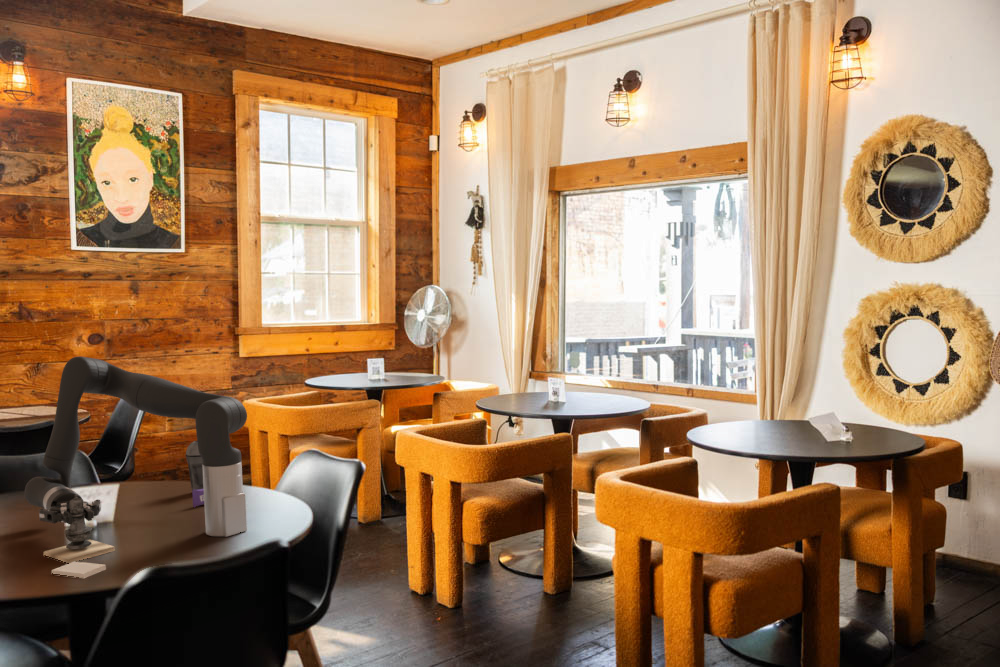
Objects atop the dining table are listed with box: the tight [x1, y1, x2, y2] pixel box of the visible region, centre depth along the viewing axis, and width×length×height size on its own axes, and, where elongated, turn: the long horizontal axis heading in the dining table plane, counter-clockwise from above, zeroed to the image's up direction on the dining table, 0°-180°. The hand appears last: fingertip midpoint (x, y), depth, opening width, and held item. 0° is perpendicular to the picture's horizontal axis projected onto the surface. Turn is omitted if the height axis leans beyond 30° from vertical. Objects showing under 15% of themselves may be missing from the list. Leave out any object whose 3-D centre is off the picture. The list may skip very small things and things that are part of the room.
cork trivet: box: [43, 539, 116, 564], centre depth 201 cm, size 11×11×1 cm
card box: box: [51, 561, 107, 579], centre depth 187 cm, size 9×6×2 cm, turn 69°
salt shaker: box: [63, 495, 93, 549], centre depth 200 cm, size 6×6×12 cm
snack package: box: [191, 489, 204, 508], centre depth 245 cm, size 12×2×5 cm, turn 139°
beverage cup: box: [185, 440, 204, 491], centre depth 257 cm, size 7×7×20 cm
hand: (80, 517), depth 198 cm, fingers closed on salt shaker, 3 cm apart
